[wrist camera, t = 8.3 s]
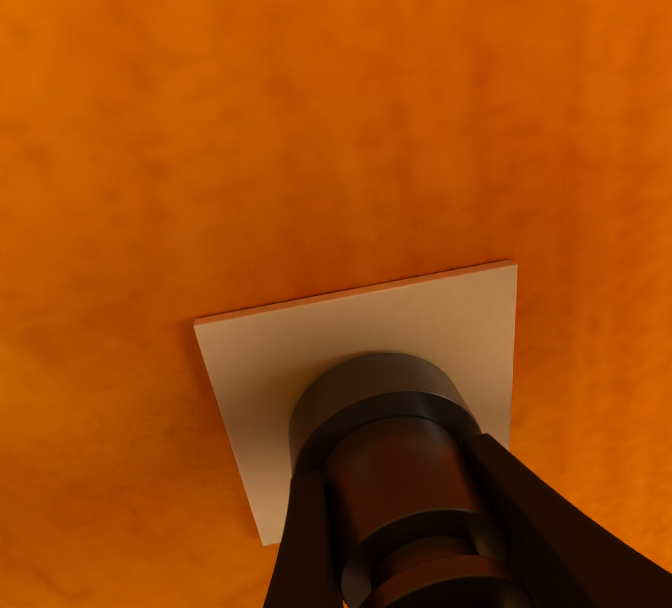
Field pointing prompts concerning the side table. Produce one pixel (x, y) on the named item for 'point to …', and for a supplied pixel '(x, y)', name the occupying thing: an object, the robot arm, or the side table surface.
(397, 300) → the maple square
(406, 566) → the chess pawn
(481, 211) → the side table surface
